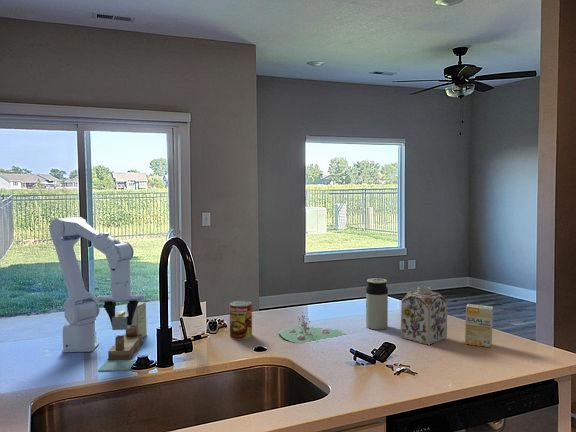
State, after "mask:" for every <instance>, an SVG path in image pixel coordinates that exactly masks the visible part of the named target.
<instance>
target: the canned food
mask: <svg viewBox="0 0 576 432" xmlns="http://www.w3.org/2000/svg"><path fill="white" fill-rule="evenodd" d="M252 305H253V302H251V301H249V300H236V301H231V302H229V338H230V339H231V340H249V339H250V338H253V309H252V308H253V306H252Z"/></svg>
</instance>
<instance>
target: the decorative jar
mask: <svg viewBox="0 0 576 432" xmlns="http://www.w3.org/2000/svg"><path fill="white" fill-rule="evenodd" d="M447 335H448V301H447V299H445V297H444V296H443V295H441V293H440V292H437V291H432V288H431V287H428V286H418V287H417V288H416V290H412V291H408V292H407V293H406V294H405V295H404V296H403V298H402V299H401V310H400V337H401V339H404V338H405V339H404V340H407V339H409V340H408V341H411V340H413V341H412V342H415V341H417V342H416V343H418V342H421V343H420V344H422V343H424V344H423V345H425V344H428V345H427V346H431V345H433V344H432V343H434V344H436V343H439V342H441V341H444V340H447V337H448V336H447ZM443 339H444V340H443ZM438 341H439V342H438ZM435 342H436V343H435ZM430 344H431V345H430Z"/></svg>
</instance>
